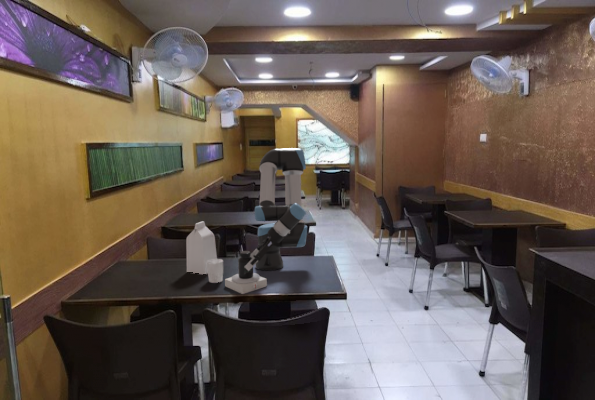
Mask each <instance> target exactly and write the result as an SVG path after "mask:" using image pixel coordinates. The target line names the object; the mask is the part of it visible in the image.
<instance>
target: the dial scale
mask: <svg viewBox="0 0 595 400" xmlns="http://www.w3.org/2000/svg"><path fill="white" fill-rule="evenodd" d="M267 280H268V279H267V278H265V277H263V276H260V275H259V273H256V272H253V277H252V278H250V279H241V278H239V273H236V274H234V275H232V276H230V277H228V278H225V279H224V285H225V287H226V288H228V289H230V290H233V291H234V292H236V293H239V294H242V295H244V294H247V293H250V292H254V291H256V290H259V289H262V288H266V287H267V286H268V282H267Z"/></svg>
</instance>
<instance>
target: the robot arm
mask: <svg viewBox="0 0 595 400" xmlns="http://www.w3.org/2000/svg"><path fill="white" fill-rule="evenodd" d="M306 168H307V166H306V157H305V153H304V149H302V148H296V147H294V148H293V147H291V148H290V147H289V148H273V149H271V150H269V151H268V152H265V154H264V156H262V158H261V159H260V162H259V169H258V170H259V172H260V187H259V189H260V190H259V205H256V206H254V220H255V221H256V222H270V223H266V224H263V225H260V226H258V228H257V247H256V248H255V249H254V250H253V251H252V252H251V253H250V254H251V256H250V257H252V259H251V260H250V261H249V262H248V263H247V265H246V266H245V268H246V269H247V270H248V271H249V270H250V269H251V268H252V267H253V268H254V267H255V268H256V269H257V270H261V271H276V270H280V269H282V268H283V267H284V260H283V257H282V255H281V249H282V248H288V249H289V248H302V247H305V245H306V242H307V236H308V226H307V225H306V224H305V220H303V218H304V217H305V216H306V215H307V211H306V210H305V208H303V206H302V180H301V179H302V177H301V175H303V174H304V171H305V170H307V169H306ZM278 170H279V171H281V173H282V174H283V176H284V184H285V185H284V188H285V189H284V191H285V192H284V193H285V194H284V195H285V205H283V204H282V205H276V204H275V203H276V202H275V199H276V173H277V172H278ZM280 248H281V249H280Z"/></svg>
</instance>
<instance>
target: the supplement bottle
mask: <svg viewBox="0 0 595 400" xmlns="http://www.w3.org/2000/svg"><path fill="white" fill-rule="evenodd" d="M251 254H252V253H251V251H249V250H242V251H240V253H239V258H238V260H237V264H238V265H237V268H238V270H237V271H238V272H237V273H238V274H239V278H241V279H250V278H252V277H253V273H254V266H253V267H252V268H251V269H250V270H249V271H248V270H247V269H246V268H245V266H246V265H247V263H248V262H249V261H250V260H251V259H252V257H250V256H251Z"/></svg>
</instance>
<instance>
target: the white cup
mask: <svg viewBox="0 0 595 400" xmlns="http://www.w3.org/2000/svg"><path fill="white" fill-rule="evenodd" d="M207 270H208V273H207V276H208V282H209V283H211V284H217V283H218V282H219V283H222V282H223V281H224V276H223V275H224V259H222V258H217V259H212V260H208V261H207Z"/></svg>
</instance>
